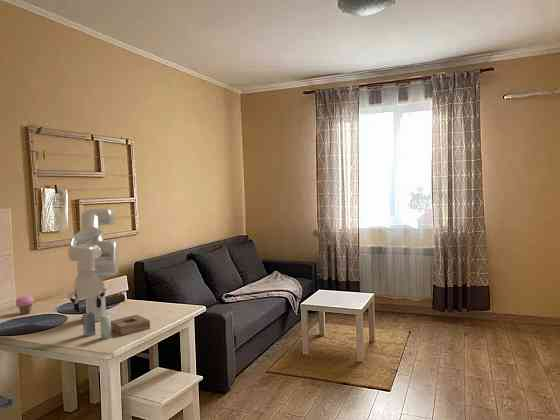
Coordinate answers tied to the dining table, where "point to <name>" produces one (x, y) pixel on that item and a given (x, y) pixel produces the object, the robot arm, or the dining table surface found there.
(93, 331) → the square peg
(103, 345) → the dining table surface
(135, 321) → the socket block
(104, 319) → the round peg
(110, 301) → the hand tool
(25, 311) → the cupcake
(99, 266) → the robot arm
